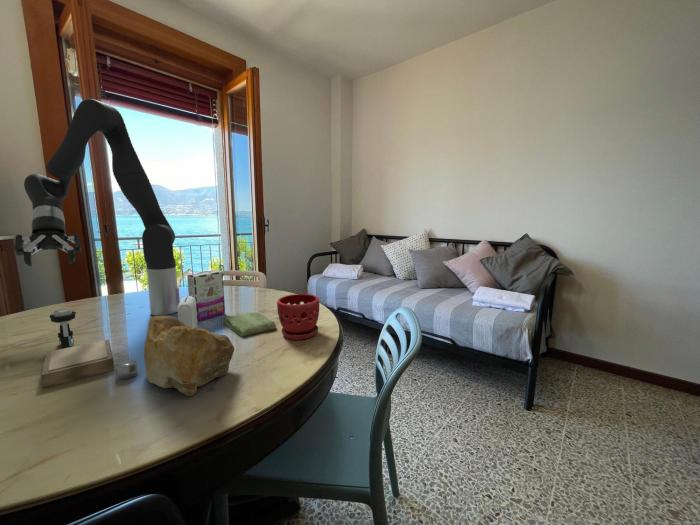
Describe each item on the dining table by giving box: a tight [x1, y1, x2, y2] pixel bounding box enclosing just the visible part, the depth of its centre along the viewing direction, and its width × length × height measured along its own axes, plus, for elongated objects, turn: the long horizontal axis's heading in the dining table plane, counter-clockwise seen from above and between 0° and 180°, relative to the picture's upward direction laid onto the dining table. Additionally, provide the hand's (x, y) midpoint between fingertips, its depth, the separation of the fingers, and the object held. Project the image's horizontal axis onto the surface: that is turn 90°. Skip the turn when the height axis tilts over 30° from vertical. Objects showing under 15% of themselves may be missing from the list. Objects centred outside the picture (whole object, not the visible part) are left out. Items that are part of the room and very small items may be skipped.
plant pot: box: [276, 293, 320, 341], centre depth 94 cm, size 13×13×12 cm
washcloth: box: [223, 311, 277, 337], centre depth 102 cm, size 13×18×3 cm
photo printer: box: [177, 295, 199, 328], centre depth 91 cm, size 10×4×12 cm, turn 20°
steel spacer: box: [114, 359, 139, 381], centre depth 69 cm, size 4×4×3 cm
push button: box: [49, 308, 77, 349], centre depth 84 cm, size 7×5×10 cm
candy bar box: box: [186, 270, 226, 323], centre depth 109 cm, size 11×5×16 cm, turn 148°
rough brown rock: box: [143, 315, 235, 397], centre depth 68 cm, size 23×17×15 cm
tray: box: [41, 339, 115, 389], centre depth 73 cm, size 12×14×3 cm
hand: (50, 263), depth 89 cm, fingers open, 8 cm apart
